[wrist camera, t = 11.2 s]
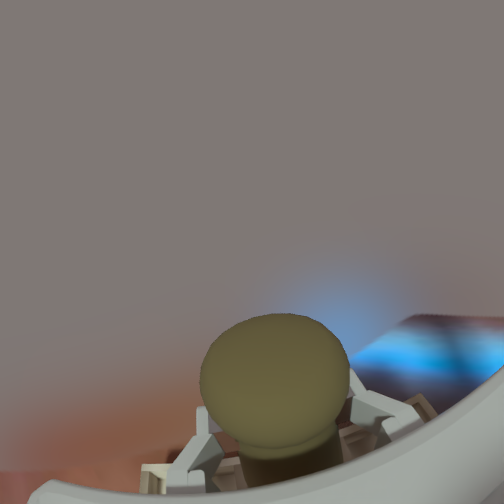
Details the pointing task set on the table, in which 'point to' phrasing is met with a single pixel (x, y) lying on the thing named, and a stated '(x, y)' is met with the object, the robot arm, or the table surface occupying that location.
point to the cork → (278, 395)
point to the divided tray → (230, 469)
